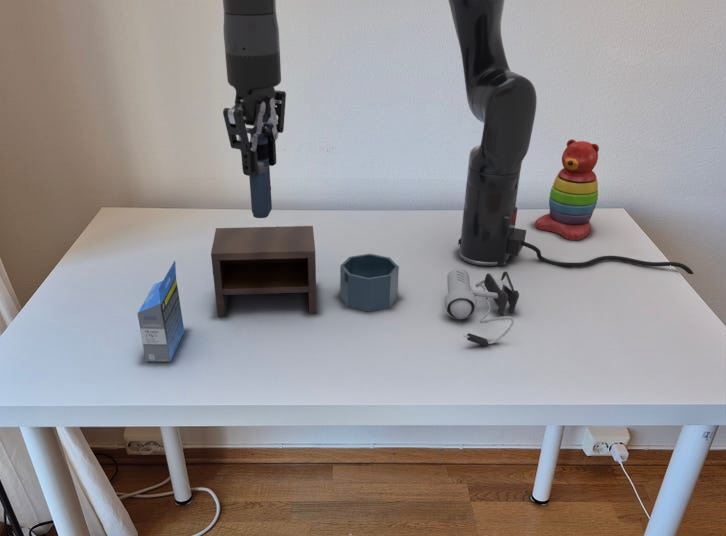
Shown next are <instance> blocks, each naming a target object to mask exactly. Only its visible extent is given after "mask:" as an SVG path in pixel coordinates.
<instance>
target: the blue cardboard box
mask: <svg viewBox="0 0 726 536" xmlns="http://www.w3.org/2000/svg"><path fill="white" fill-rule="evenodd" d="M176 266H177V265H176V260H173V262H172V264H171V266H170V267H169V269H168V271H167V272H166V274H165V276H164V277H163V280H162V281H159V282H157V283H154V284H153V285H152V287H151V289H150V291H149V293H148V294H147V296H146V298H145V299H144V300H143V301H144V302H143V303H142V305H141V306H140V308H139V309H138V311H137V313H136V314H137V319H138V325H139V329H140V335H141V342H142V346H143V352H144V358H145V361H146V362H147V363H171V362H172V359H173V357H174V355H175V353H176V351H177V349H178V347H179V344H180V343H181V340H182V338H183V335H184V333H185V326H184V320H183V314H182V313H183V312H182V308H181V301H180V294H179V288H178V281H177V272H176V271H177V269H176Z"/></svg>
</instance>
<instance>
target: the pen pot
mask: <svg viewBox="0 0 726 536" xmlns="http://www.w3.org/2000/svg"><path fill="white" fill-rule="evenodd" d="M339 267H340V270H339V271H340V276H339V277H340V279H339V280H340V283H339V284H340V285H339V286H340V287H339V288H340V289H339V290H340V291H339V292H340V295H339V297H340V299H341V300H342V302H343V303H344V304H345V305H346V307H347V308H351V309H353V310H359V311H363V312H367V313H368V312H369V313H370V312H375V311H381V310H387V309H390V308H391V307H392V306H393V304H395V302H396V301H397V299H398V290H399V273H400V272H399V271H400V267H399V265H398V264H397V263H396V262H395V261H394V260H393V259H392V258H391V257H388V256H384V255H378V254H374V253H366V254H359V255H353V256H349V257H347V259H345V260H344V261H343V262H342V263H341V264H340V265H339Z"/></svg>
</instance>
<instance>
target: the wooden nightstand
mask: <svg viewBox="0 0 726 536" xmlns="http://www.w3.org/2000/svg"><path fill="white" fill-rule="evenodd" d="M213 235H214V236H213V240H212V247H211V250H210V251H211V252H210V259H211V266H212V267H211V268H212V276H213V285H214V294H215V295H214V296H215V304H216V305H215V306H216V312H217V313H216V314H217V317H218V318H226V314H227V306H228V297H229V295H230V296H231V295H232V296H233V295H261V294H262V295H263V294H267V295H268V294H296V293H299V294H300V293H307V300H308V302H307V303H308V314H309V315H317V313H318V312H317V311H318V309H317V268H316V266H317V264H316V262H317V261H316V244H315V233H314V226H313V225H293V226H292V225H291V226H290V225H289V226H251V227H249V226H248V227H246V226H245V227H216V228H215V230H214V234H213Z"/></svg>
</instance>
